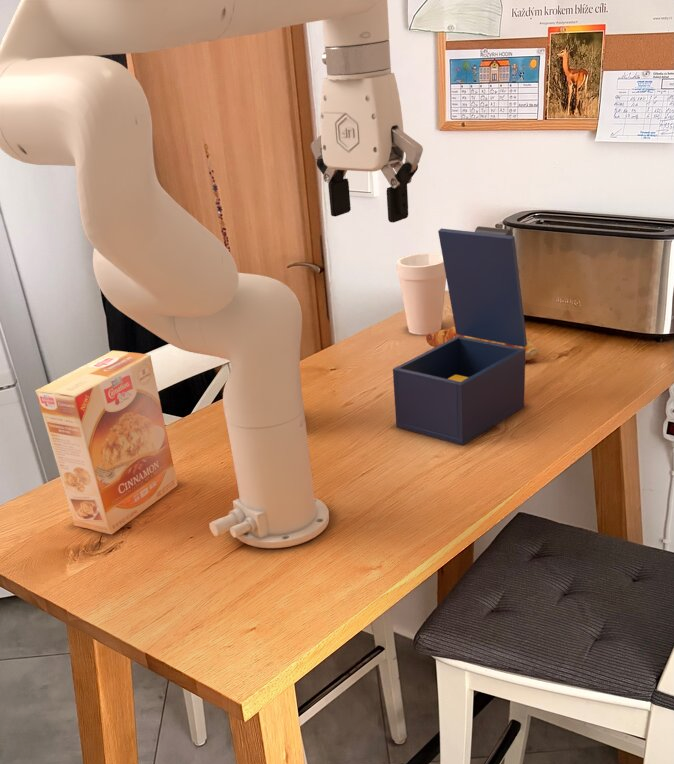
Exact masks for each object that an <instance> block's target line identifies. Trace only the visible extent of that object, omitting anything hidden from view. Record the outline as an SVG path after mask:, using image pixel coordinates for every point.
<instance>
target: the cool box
mask: <svg viewBox="0 0 674 764" xmlns="http://www.w3.org/2000/svg"><path fill="white" fill-rule="evenodd" d="M455 374H456V375H460V376H465V377H469V378H467V379H465V380H463V381H462V382H458V381H454V380H449V379H448V378H450V377H452V376H454V375H455ZM392 379H393V394H394V411H395V412H394V413H395V426H396V428H400V429H403V430H406V431H410V432H413V433H416V434H420V435H424V436H428V437H431V438H434V439H439V440H443V441H445V442H449V443H453V444H456V445H460V446H465V445H466V444H468V443H469V442H471V441H472V440H473V439H475V438H477V437H479V436H480V435H482V434H483V433H485V432H487V431H488V430H490V429H491V428H493V427H495V426H496V425H498V424H499V423H501V422H503V421H504V420H506V419H508V418H509V417H510V416H512V415H514V414H516V413H517V412H519V411H520V410H522V409H523V408H525V392H526V391H525V390H526V389H525V387H526V385H525V384H526V360H525V349H523V348H518V347H513V346H507V345H502V344H497V343H492V342H486V341H481V340H476V339H471V338H465V337H460V336H457V337H455V338H453V339H451V340H449V341H447V342H445V343H443V344H441V345H439V346H437V347H435V348H434V347H432V348H431V349H429V350H428V351H425V352H423V353H421V354H419V355H418V356H415V357H414V358H412V359H410V360H408V361H405V362H403V363H402V364H400V365H398V366H396V367H394V368H392Z"/></svg>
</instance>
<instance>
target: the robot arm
mask: <svg viewBox="0 0 674 764" xmlns="http://www.w3.org/2000/svg"><path fill="white" fill-rule="evenodd" d="M388 5H389V4H388V0H19V4H18V6H17V8H16V9H15V12H14V14H13V16H12V18H11V21H10V23H9V25H8V26H7V28H6V31H5V33H4V35H3V38H2V40H1V42H0V149H1V151H2V152H4V153H5V154H6V155H8V156H9V157H10V158H12V159H14V160H17V161H20V162H21V163H23V164H24V163H25V164H31V165H36V166H67V167H75V171H76V172H75V173H76V189H77V198H78V206H79V214H80V221H81V225H82V229H83V232H84V234H85V237H86V239H87V240H88V242H89V244H90V245H91V246H92V247H93V253H92V268H93V274H94V277H95V280H96V282H97V283H96V284H97V286H98V287H99V288H100V291H101V292H102V294H103V295H104V297H105V299H107V301H108V302H109V303H110V304H111V305H112V306H113V307H114V308H115V309H117V310H118V311H119V312H121V313H123V315H125V316H127V317H128V318H130V319H131V320H133V321H134V322H135V323H137V324H138V325H140V326H141V327H143V328H145V329H146V330H148V331H149V332H150V333H152V334H154V335H155V336H157V337H158V338H159V339H161V340H163V341H164V342H166V343H168V344H170V345H171V346H173V347H176V348H177V349H179V350H181V351H185V352H188V353H193V354H199V355H205V356H209V357H210V356H212V357H215V358H220V359H224V360H228V361H229V362H230V371H229V374H228V377H227V378H226V379H227V380H226V381H225V385H224V388H223V392H222V405H223V412H224V418H225V419H224V420H225V422H226V429H227V434H228V440H229V445H230V451H231V456H232V461H233V462H232V463H233V469H234V474H235V478H236V480H235V481H236V485H237V490H238V498H236V499H234V500H232V504H233V505H232V506H233V509H232V510H229V511H228V514H227V515H224V516H223V517H222V516H221V517H220V518H217V519H215V520H212V521H211V522H209V527H208V528H209V530H210V532H211V534H212V535H213V536H214V537H219V536H222V535H223V534H225V533H227V532H229V533H230V535H231V536H232V538H234V539H238V541H240V542H242V543H244V544H246V545H248V546H251V547H254V548H260V549H282V548H290V547H294V546H297V545H301V544H304V543H306V542H308V541H311V540H312V539H315V538H316V537H317V536H319V535H320V534H322V532H324V531H325V530H326V529H327V527H328V525H329V521H330V512H329V509H328V508H329V507H328V506H327V505H326V504H325V502H323V501H322V500H320V499H319V498H316V496H315V487H314V480H313V471H312V465H311V455H310V446H309V438H308V431H307V430H308V429H307V421H306V414H305V407H304V406H305V405H304V399H303V390H302V380H301V379H302V378H301V343H302V332H303V315H302V314H303V313H302V308H301V304H300V302H299V299H298V297H297V296H296V294H295V293H294V292H293V290H292V289H291V288H290V287H289V286H288V285H286V283H283V282H282V281H280V280H278V279H275V278H272V277H270V276H266V275H261V274H256V273H255V274H254V273H244V272H239V271H238V266H237V264H236V260H235V259H234V257H233V256H232V253H231V252H230V251H229V249H228V248H227V247H226V246H225V244H224V243H223V241H221V240H220V239H219V237H217V236H216V235H215V234H214V233H213V232H211V231H210V230H209V229H208V228H206V227H205V226H204V225H203V224H202V223H201V222H199V221H198V220H197V219H196V218H195V217H194V216H193V215H192V214H191V213H189V212H188V211H187V210H186V209H185V208H184V207H182V205H180V204H179V203H178V202H176V200H175V199H174V198H173V197H172V196H171V195H170V194H169V193H168V192H167V191H166V190H165V189H164V188H163V187H162V185H161V183H160V182H159V180H158V176H157V172H156V167H155V161H154V159H155V158H154V147H153V143H154V142H153V121H152V114H151V108H150V104H149V101H148V98H147V96H146V93H145V91H144V89H143V87H142V85H141V84H140V82H139V81H138V79H137V78H136V77H135V75H134V74H133V73H132V71H130V70H129V69H128V68H126V66H124V65H123V64H121V63H120V62H117V61H115V60H114V59H113V60H112V59H110V58H106V57H103V56H110V55H125V54H126V55H128V54H143V53H151V52H157V51H164V50H169V49H174V48H175V49H176V48H181V47H184V46H189V45H194V44H200V43H206V42H213V41H219V40H226V39H231V38H237V37H243V36H252V35H258V34H262V33H267V32H271V31H275V30H278V29H283V28H287V27H292V26H297V25H302V24H307V23H314V22H320V21H321V22H322V31H323V43H324V52H323V54H322V56H321V60H322V63H323V65H325V67H326V77H324V78H322V81H321V82H322V83H321V94H320V135H319V136H318V137H317V138H316V139H315V140H313V141H312V142H311V143H310V150H311V152H312V154H313V157H314V159H315V160H316V167H317V169H318V170H319V171H320V172H321V173H322V175H323V176H322V177H323V181H324V182H325V184H327V188H328V198H329V207H330V216H331V217H339V216H341V215H344V214H347V213H350V211H351V210H352V209H351V208H352V207H351V194H350V184H349V183H350V182H349V178H345V176H346V174H347V172H348V171H354V172H369V173H370V172H378V171H381V173H382V174H383V176H384V178H385V179H386V180H387V182H388V184H389V185H390V186H389V187H386V207H387V220H388V222H389V223H396V222H400V221H403V220H405V219H407V218H408V217H409V196H408V195H409V194H408V184H411V183H412V179H413V177H414V175H415V174H416V172H417V171H418V169H419V163H420V161H421V157H422V154H423V152H424V148H423V146H422V145H421V144H420V143H419V142H418V141H417V140H415V139H414V138H412V137H411V136H409V135H408V134H407V133H406V132H404V122H403V113H402V106H401V105H402V104H401V100H400V93H399V88H398V82H397V79H396V75H395V72H392V65H391V63H392V62H391V46H390V28H389V27H390V25H389V6H388ZM404 157H405V159H404ZM403 160H404V162H403Z"/></svg>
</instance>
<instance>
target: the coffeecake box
mask: <svg viewBox="0 0 674 764" xmlns="http://www.w3.org/2000/svg"><path fill="white" fill-rule="evenodd" d="M151 357H152V356H151V355H150V354H148V353H147V354H146V353H140V352H130V351H129V352H128V351H122V350H114V349H113V350H111V351H109V352H107V353H105V354H104V355H102V356H100V357H98V358H96V359H94V360H92V361H89V362H88V363H86V364H83V365H82V366H80V367H78V368H76V369H74V370H72V371H71V372H70V371H69V372H68V373H67V374H64V375H63V376H61V377H59V378H57V379H55V380H53V381H51V382H49V383H47V384H45V385H44V386H41V387H39V388H37V389H35V394H36V396H37V401H38V404H39V408H40V411H41V414H42V415H41V416H42V418H43V421H44V425H45V428H46V431H47V435H48V438H49V442H50V445H51V449H52V452H53V456H54V459H55V464H56V466H57V470H58V473H59V477H60V480H61V483H62V486H63V490H64V494H65V497H66V501H67V505H68V507H69V511H70V515H71V518H72V521H73V525H74V526H75V527H78V528H82V529H83V528H84V529H89V530H92V531H95V532H98V533H103V534H107V535H111V536H112V535H113V534H116V533H117V532H118V531H119V530H120V529H121V528H123V527H124V526H126V525H127V524H128V523H130V522H131V521H132V520H133V519H135V518H136V517H138V516H139V515H140V514H142V513H143V512H144V511H146V510H147V509H148V508H150V507H151V506H152V505H153V504H155V503H156V502H158V501H159V500H160V499H162V498H163V497H164V496H165V495H167V494H168V493H170V492H171V491H173V490H174V489H175V488H176V487H178V486H179V483H178V479H177V475H176V469H175V466H174V462H173V457H172V452H171V451H172V450H171V447H170V442H169V438H168V433H167V429H166V424H165V418H164V413H163V409H162V404H161V399H160V395H159V390H158V386H157V382H156V381H157V380H156V375H155V371H154V367H153V362H152V358H151Z"/></svg>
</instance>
